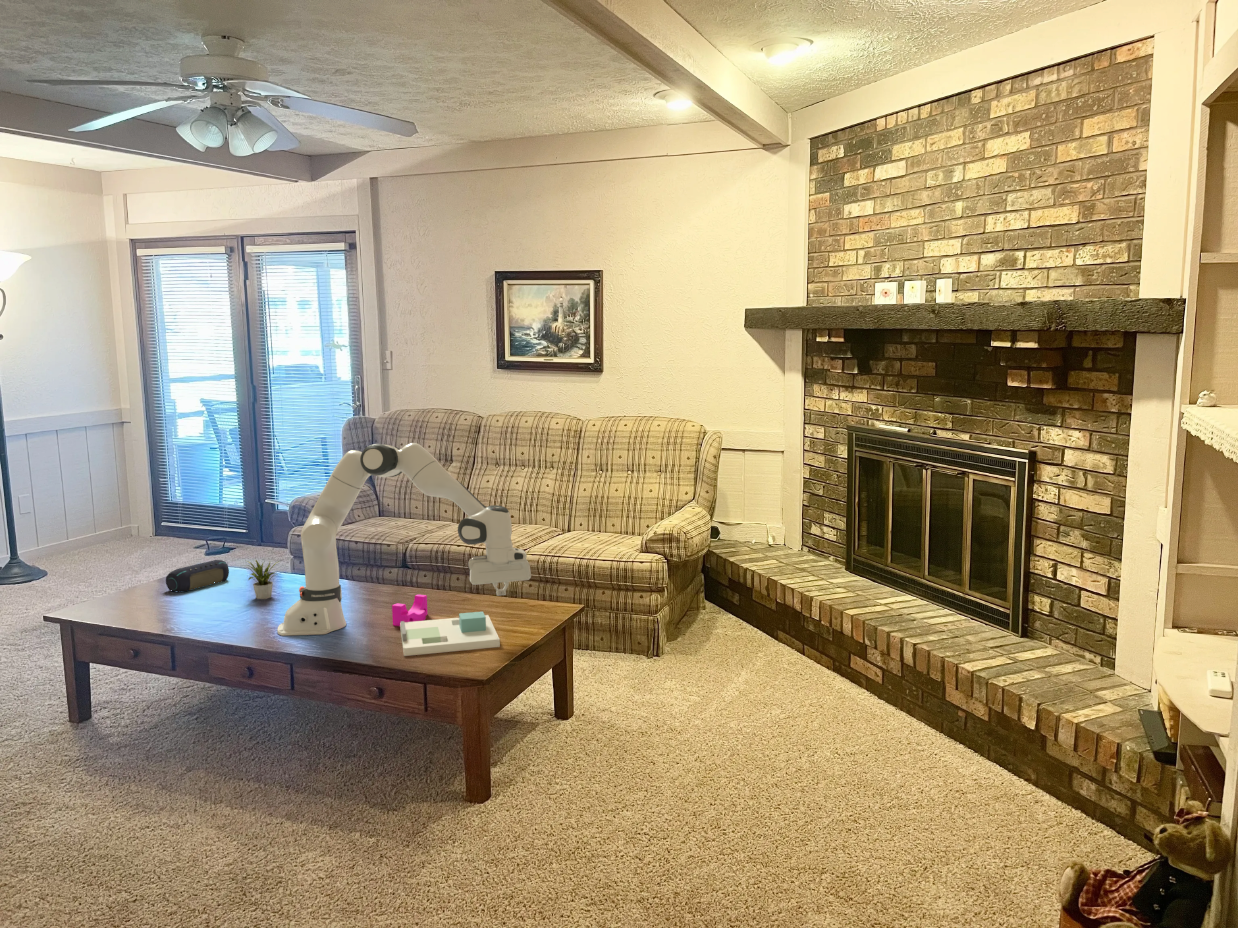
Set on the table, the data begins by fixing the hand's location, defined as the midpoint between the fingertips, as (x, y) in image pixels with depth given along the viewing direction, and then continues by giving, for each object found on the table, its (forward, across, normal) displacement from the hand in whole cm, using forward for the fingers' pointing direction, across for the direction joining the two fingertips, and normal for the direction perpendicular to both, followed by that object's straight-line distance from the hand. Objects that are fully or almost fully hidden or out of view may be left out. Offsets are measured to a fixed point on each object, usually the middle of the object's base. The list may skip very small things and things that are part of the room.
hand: (501, 594), depth 309 cm
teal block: (+10, -10, 0) cm, 15 cm away
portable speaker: (+12, -108, +96) cm, 145 cm away
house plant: (+12, -83, +70) cm, 110 cm away
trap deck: (+13, -18, 0) cm, 22 cm away
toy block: (+13, -28, +24) cm, 39 cm away
